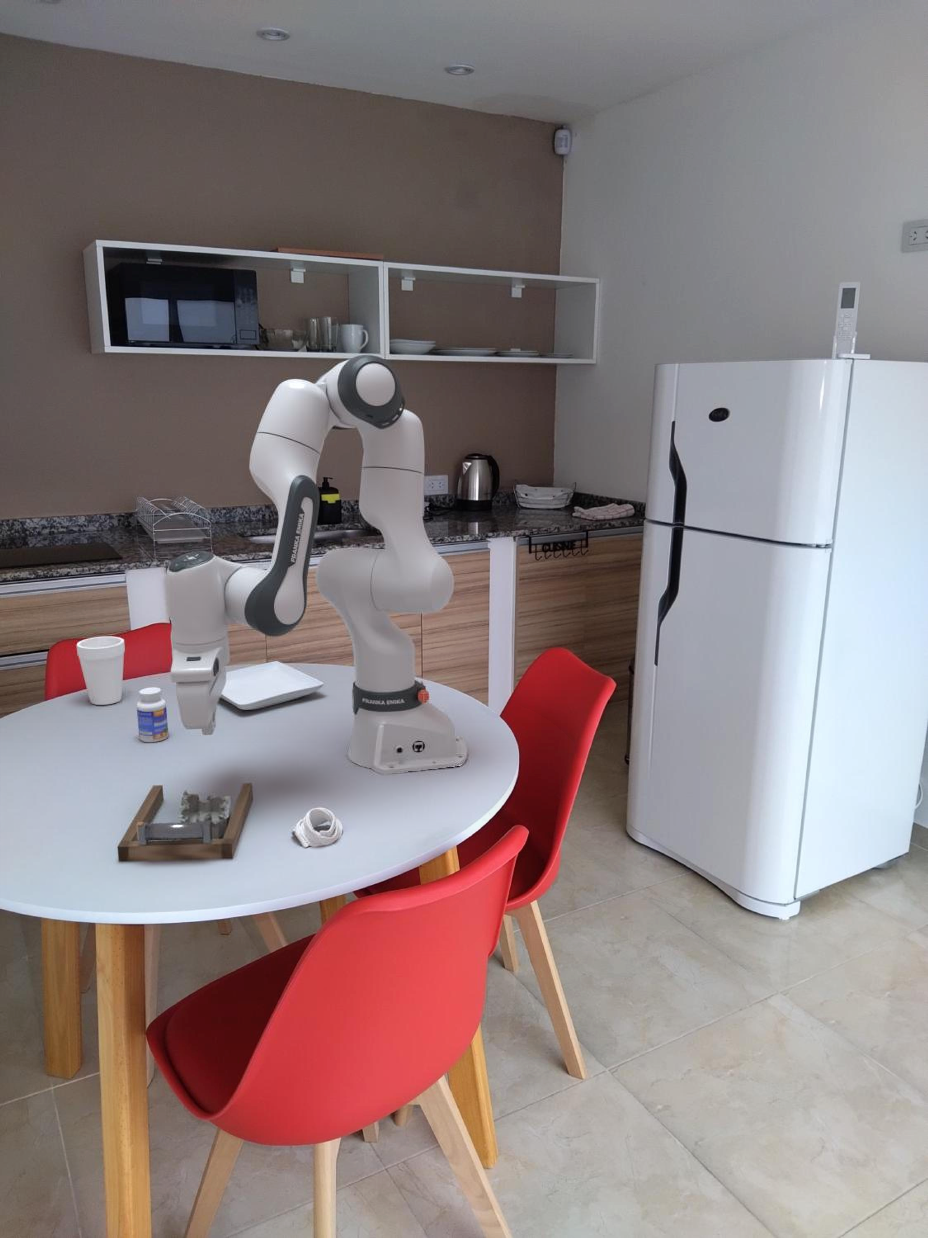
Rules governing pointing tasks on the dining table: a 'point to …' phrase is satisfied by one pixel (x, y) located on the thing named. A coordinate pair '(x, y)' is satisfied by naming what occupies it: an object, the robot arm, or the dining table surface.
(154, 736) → the pill bottle
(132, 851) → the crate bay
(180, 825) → the winch
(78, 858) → the dining table surface
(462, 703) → the dining table surface
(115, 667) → the foam cup
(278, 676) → the salad plate
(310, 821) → the white crumpled cloth
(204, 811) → the egg carton
